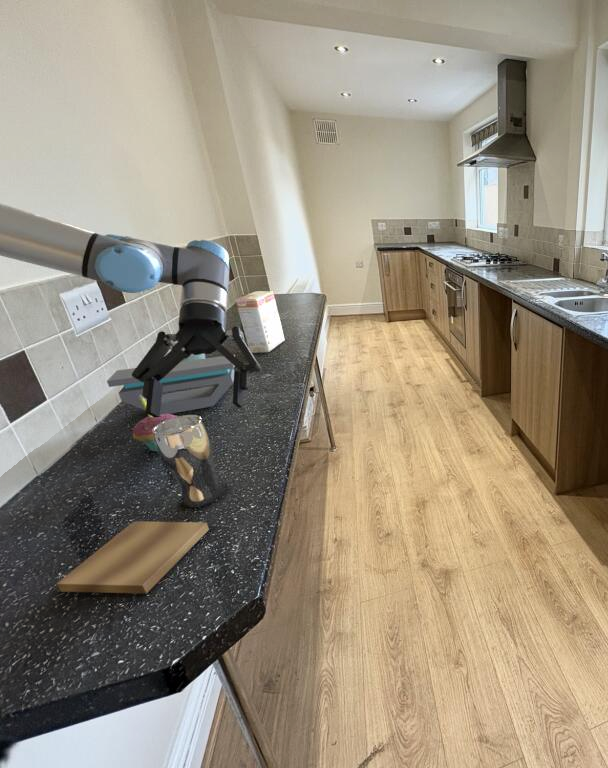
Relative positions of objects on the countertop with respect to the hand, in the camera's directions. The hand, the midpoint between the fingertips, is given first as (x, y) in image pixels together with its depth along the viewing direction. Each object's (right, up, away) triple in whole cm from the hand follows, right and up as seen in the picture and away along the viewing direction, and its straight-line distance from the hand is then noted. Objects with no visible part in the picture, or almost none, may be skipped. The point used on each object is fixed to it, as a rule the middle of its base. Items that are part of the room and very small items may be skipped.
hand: (196, 410), depth 75 cm
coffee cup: (-41, +7, +53) cm, 67 cm away
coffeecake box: (-35, +19, +80) cm, 89 cm away
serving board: (+3, -21, -14) cm, 25 cm away
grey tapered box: (-28, -1, +34) cm, 44 cm away
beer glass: (+2, -16, -1) cm, 16 cm away
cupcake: (-19, -9, +15) cm, 26 cm away
